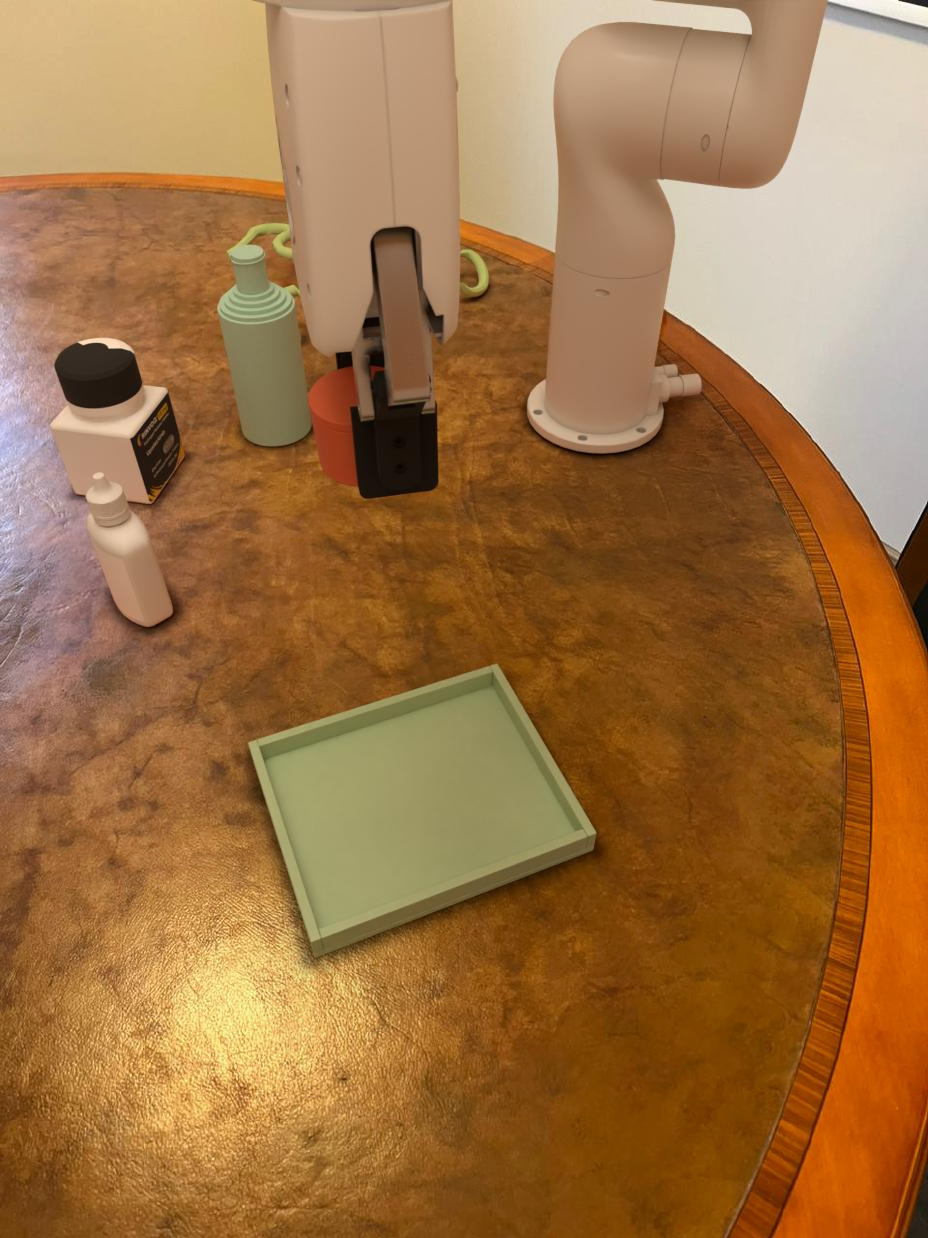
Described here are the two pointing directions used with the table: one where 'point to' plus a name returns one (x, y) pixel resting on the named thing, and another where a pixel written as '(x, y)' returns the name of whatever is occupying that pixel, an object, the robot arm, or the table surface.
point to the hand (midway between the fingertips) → (388, 452)
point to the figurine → (287, 253)
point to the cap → (335, 423)
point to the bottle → (264, 353)
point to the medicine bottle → (114, 421)
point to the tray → (414, 805)
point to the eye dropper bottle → (126, 555)
